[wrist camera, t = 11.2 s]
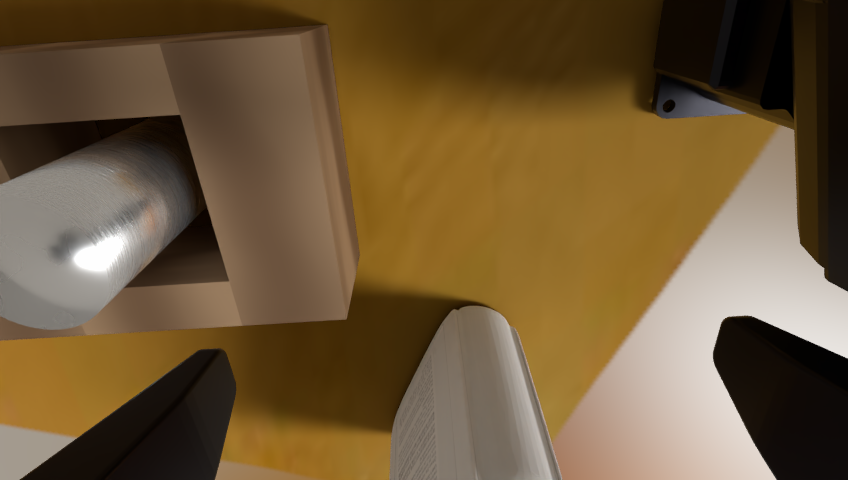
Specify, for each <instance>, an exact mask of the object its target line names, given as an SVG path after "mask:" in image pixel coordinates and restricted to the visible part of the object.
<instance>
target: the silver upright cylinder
mask: <svg viewBox="0 0 848 480" xmlns="http://www.w3.org/2000/svg"><path fill="white" fill-rule="evenodd" d="M206 207H207V204H206V201H205V197H204V194H203V190H202V187H201V184H200V180H199V177H198V173H197V170H196V167H195V163H194V160H193V156H192V153H191V150H190V146H189V143H188V139H187V136H186V133H185V129H184V126H183V122H182V119H181V116H180V115H167V116H154V117H152V118H150V119H148V120H145V121H143V122H141V123H139V124H136V125H134V126H132V127H129V128H127V129H125V130H123V131H120V132H118V133H116V134H114V135H111V136H109V137H107V138H105V139H102V140H100V141H98V142H96V143H93V144H91V145H89V146H86V147H84V148H82V149H80V150H77V151H75V152H73V153H71V154H68V155H66V156H64V157H62V158H59V159H57V160H55V161H53V162H50V163H48V164H46V165H43V166H41V167H39V168H37V169H34V170H32V171H30V172H28V173H25V174H23V175H21V176H19V177H16V178H14V179H12V180H10V181H7V182H5V183H3V184H1V185H0V316H1V317H3V318H5V319H7V320H10V321H12V322H15V323H18V324H21V325H24V326H28V327H33V328H38V329H47V330H60V329H68V328H72V327H76V326H79V325H81V324H84V323H86V322H87V321H89V320H91V319H92V318H93V317H94V316H96V315H97V314H98V313H99V312H100V311H101V310H102V309H103V308H104V307H105V306H106V305H107V304H108V303H109V302H110V301H111V300H112V299H113V298H114V297H115V296H116V295H117V294H118V293H119V292H120V291H121V290H122V289H123V288H124V287H125V286H126V285H127V284H128V283H129V282H130V281H131V280H133V279H134V278H135V277H136V276H137V275H138V274H139V273H140V272H141V271H142V270H143V269H144V268H145V267H146V266H147V265H148V264H149V263H150V262H151V261H152V260H153V259H154V258H155V257H156V256H157V255H158V254H159V253H160V252H161V251H162V250H163V249H164V248H165V247H166V246H167V245H168V244H169V243H170V242H171V241H172V240H173V239H174V238H176V237H177V236H178V235H179V234H180V233H181V232H182V231H183V230H184V229H185V228H186V227H187V226H188V225H189V224H190V223H191V222H192V221H193V220H194V219H195V218H196V217H197V216H198V215H199V214H200V213H201V212H202V211H203V210H204V209H205V208H206Z"/></svg>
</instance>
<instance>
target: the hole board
mask: <svg viewBox="0 0 848 480" xmlns="http://www.w3.org/2000/svg"><path fill="white" fill-rule="evenodd" d="M167 115H180V116H181V119H182V122H183V126H184V129H185V133H186V136H187V139H188V143H189V146H190V150H191V153H192V156H193V160H194V163H195V167H196V170H197V173H198V177H199V180H200V184H201V187H202V190H203V194H204V197H205V201H206V204H207V207H208V211H209V214H210V218H211V221H212V224H213V226H204V227H188V228H185V229H184V230H183V231H182V232H181V233H180V234H179V235H178V236H177V237H176V238H174V239H173V240H172V241H171V242H170V243H169V244H168V245H167V246H166V247H165V248H164V249H163V250H162V251H161V252H160V253H159V254H158V255H157V256H156V257H155V258H154V259H153V260H152V261H151V262H150V263H149V264H148V265H147V266H146V267H145V268H144V269H143V270H142V271H141V272H140V273H139V274H138V275H137V276H136V277H135V278H134V279H133V280H131V281H130V282H129V283H128V284H127V285H126V286H125V287H124V288H123V289H122V290H121V291H120V292H119V293H118V294H117V295H116V296H115V297H114V298H113V299H112V300H111V301H110V302H109V303H108V304H107V305H106V306H105V307H104V308H103V309H102V310H101V311H100V312H99V313H98V314H97V315H96V316H94V317H93V318H92V319H91V320H89V321H87V322H86V323H84V324H81V325H79V326H76V327H72V328H68V329H60V330H47V329H38V328H33V327H28V326H24V325H21V324H18V323H15V322H12V321H10V320H7V319H5V318H3V317H1V316H0V341H1V340H17V339H34V338H50V337H66V336H83V335H99V334H115V333H131V332H148V331H164V330H180V329H197V328H213V327H229V326H246V325H262V324H278V323H295V322H311V321H327V320H344V319H347V315H348V310H349V305H350V301H351V296H352V291H353V286H354V281H355V276H356V271H357V266H358V261H359V256H360V254H359V247H358V239H357V232H356V225H355V218H354V211H353V204H352V197H351V189H350V182H349V175H348V168H347V161H346V154H345V147H344V139H343V132H342V125H341V118H340V111H339V104H338V96H337V89H336V82H335V75H334V68H333V61H332V54H331V46H330V39H329V32H328V25H314V26H299V27H284V28H269V29H254V30H239V31H224V32H209V33H194V34H179V35H164V36H149V37H134V38H119V39H104V40H89V41H74V42H59V43H44V44H29V45H14V46H0V185H1V184H3V183H5V182H7V181H10V180H12V179H14V178H16V177H19V176H21V175H23V174H25V173H28V172H30V171H32V170H34V169H37V168H39V167H41V166H43V165H46V164H48V163H50V162H53V161H55V160H57V159H59V158H62V157H64V156H66V155H68V154H71V153H73V152H75V151H77V150H80V149H82V148H84V147H86V146H89V145H91V144H93V143H96V142H98V141H100V140H102V139H101V136H100V133H99V131H98V128H97V126H96V123H95V120H105V119H121V118H136V117H151V116H167Z"/></svg>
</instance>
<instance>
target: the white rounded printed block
mask: <svg viewBox="0 0 848 480" xmlns="http://www.w3.org/2000/svg"><path fill="white" fill-rule="evenodd" d="M390 480H562V476H561V473H560V469H559V466H558V463H557V459H556V456H555V453H554V449H553V446H552V443H551V439H550V436H549V433H548V429H547V426H546V422H545V419H544V416H543V412H542V409H541V406H540V402H539V399H538V396H537V393H536V389H535V386H534V383H533V380H532V376H531V373H530V370H529V366H528V363H527V360H526V356H525V354H524V350H523V347H522V344H521V341H520V338H519V335H518V333H517V331H516V329H515V328H514V327H512V326H509V325H508V322H507V321H506V319H505V318H504V317H503V316H502V315H501V314H500V313H498V312H497V311H495V310H493V309H490V308H487V307H482V306H467V307H462V308H460V309H459V310H456V309H454V310H452V311H451V312H450V313H449V314H448V316H447V317H446V318H445V320H444V321H443V322H442V324H441V325H440V327H439V329H438V331H437V332H436V334H435V336H434V338H433V340H432V341H431V343H430V345H429V347H428V349H427V351H426V353H425V355H424V357H423V359H422V361H421V363H420V365H419V367H418V369H417V371H416V373H415V375H414V377H413V379H412V381H411V383H410V385H409V387H408V389H407V391H406V393H405V395H404V397H403V399H402V402H401V404H400V406H399V408H398V411H397V414H396V417H395V420H394V424H393V429H392V436H391V457H390Z"/></svg>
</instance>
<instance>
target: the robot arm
mask: <svg viewBox="0 0 848 480" xmlns="http://www.w3.org/2000/svg"><path fill="white" fill-rule="evenodd" d="M654 68H655V69H656V71H657V77H656V83H655V89H654V95H653V102H652V110H653V112H654V114H656V115H657V116H659V117H661V118H666V119H668V118H684V117H699V116H715V115H730V114H746V113H748V114H751V115H754V116H757V117H759V118H762V119H765V120H768V121H771V122H774V123H776V124H779V125H782V126H785V127H788V128H791V129H793V130H794V132H795V162H796V189H797V219H798V230H799V237H800V244H801V245H802V246H803V247H804V248H805V249H806V251H807V252H808V253H809V254H810V255H811V256H812V257H813V258H814V260H815V261H816V262H817V263H818V264H819V265H821V266H822V267H824V275H825V278H826V279H827V280H828V281H829V282H831V283H833V284H835V285H837V286H838V287H840V288H843V289H844V290H846V291H848V0H664V2H663V8H662V14H661V21H660V27H659V34H658V40H657V47H656V53H655V60H654ZM667 100H670V102H671V104H670V106H669V108H667V109H666V110H663V107H662V106H663V104H664V103H665V102H666V101H667ZM713 360H714V364H715V367H716V369H717V371H718V373H719V375H720V377H721V379H722V381H723V383H724V385H725V387H726V389H727V391H728V393H729V395H730V397H731V399H732V401H733V403H734V405H735V407H736V409H737V411H738V413H739V415H740V417H741V419H742V421H743V423H744V425H745V427H746V429H747V430H748V433H749V434H750V436H751V438H752V440H753V442H754V444H755V446H756V447H757V449H758V450H759V452H760V454H761V456H762V457H763V459H764V460H765V462H766V464H767V465H768V467H769V468H770V470H771V471H772V473H773V475H774V476H775V478H776V479H777V480H848V359H847V358H845V357H843V356H840V355H838V354H836V353H834V352H831V351H829V350H827V349H825V348H823V347H820V346H818V345H815V344H813V343H811V342H809V341H806V340H804V339H802V338H800V337H798V336H795V335H793V334H791V333H789V332H786V331H784V330H782V329H779V328H777V327H775V326H773V325H770V324H768V323H766V322H764V321H761V320H759V319H757V318H755V317H752V316H734V317H727V318H725V319H724V320H723V321H722V323H721V327H720V330H719V333H718V337H717V340H716V344H715V347H714V351H713ZM235 395H236V382H235V379H234V376H233V373H232V369H231V366H230V363H229V360H228V357H227V355H226V352H225V351H224V350H222V349H219V348H218V349H203V350H199V351H197V352H196V353H194V354H193V355H191V356H190V357H189V358H187V359H186V360H184V361H183V362H182V363H180V364H179V365H178V366H176V367H175V368H173V369H172V370H171V371H169V372H168V373H167V374H165V375H164V376H162V377H161V378H160V379H158V380H157V381H155V382H154V383H153V384H151V385H150V386H149V387H147V388H146V389H144V390H143V391H142V392H140V393H139V394H138V395H136V396H135V397H133V398H132V399H131V400H129V401H128V402H126V403H125V404H124V405H122V406H121V407H120V408H118V409H117V410H115V411H114V412H113V413H111V414H110V415H109V416H107V417H106V418H104V419H103V420H102V421H100V422H99V423H97V424H96V425H95V426H93V427H92V428H91V429H89V430H88V431H86V432H85V433H84V434H82V435H81V436H80V437H78V438H77V439H75V440H74V441H73V442H71V443H70V444H68V445H67V446H66V447H64V448H63V449H62V450H60V451H59V452H57V453H56V454H55V455H53V456H52V457H50V458H49V459H48V460H46V461H45V462H44V463H42V464H41V465H39V466H38V467H37V468H35V469H34V470H33V471H31V472H30V473H28V474H27V475H26V476H24V477H23V478H21V479H20V480H215V477H216V474H217V470H218V466H219V463H220V459H221V454H222V450H223V446H224V442H225V438H226V433H227V429H228V425H229V421H230V417H231V413H232V408H233V404H234V400H235Z"/></svg>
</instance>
